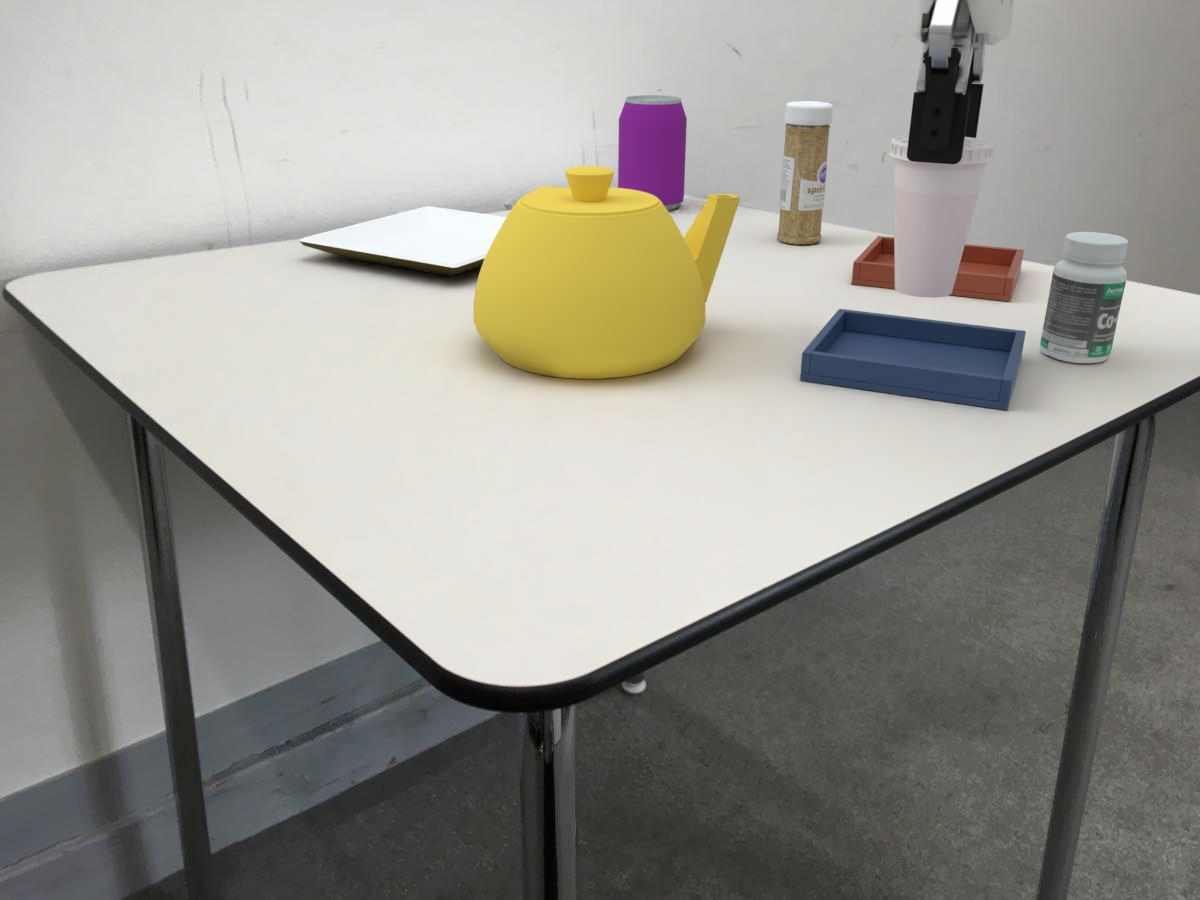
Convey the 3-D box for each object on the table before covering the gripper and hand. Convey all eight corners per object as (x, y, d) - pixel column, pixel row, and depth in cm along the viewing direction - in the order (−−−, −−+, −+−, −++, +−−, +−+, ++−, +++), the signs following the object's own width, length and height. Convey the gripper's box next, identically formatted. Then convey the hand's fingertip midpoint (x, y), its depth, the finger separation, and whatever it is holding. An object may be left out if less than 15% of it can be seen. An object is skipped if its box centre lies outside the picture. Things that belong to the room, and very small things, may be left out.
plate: (299, 260, 102) (296, 238, 101) (428, 224, 117) (427, 205, 116) (456, 289, 93) (454, 265, 92) (574, 246, 108) (574, 225, 107)
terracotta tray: (1020, 271, 100) (1024, 249, 99) (1009, 301, 91) (1013, 278, 90) (875, 256, 105) (877, 235, 104) (851, 284, 96) (853, 261, 95)
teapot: (525, 401, 69) (520, 198, 64) (435, 321, 85) (425, 153, 80) (789, 359, 77) (804, 175, 72) (662, 293, 93) (667, 138, 87)
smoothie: (927, 273, 77) (954, 63, 71) (994, 296, 72) (1029, 71, 66) (854, 283, 74) (876, 66, 69) (918, 308, 69) (948, 75, 63)
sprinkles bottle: (818, 247, 108) (830, 106, 103) (772, 243, 109) (782, 104, 104) (823, 237, 112) (836, 101, 107) (779, 234, 113) (789, 99, 108)
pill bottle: (1094, 369, 75) (1119, 248, 72) (1027, 354, 78) (1048, 237, 75) (1120, 354, 78) (1144, 237, 75) (1054, 339, 81) (1075, 227, 78)
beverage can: (688, 201, 129) (692, 95, 124) (677, 214, 122) (681, 102, 118) (625, 198, 131) (627, 93, 126) (611, 210, 124) (612, 100, 119)
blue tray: (1021, 357, 78) (1025, 330, 77) (1007, 410, 68) (1012, 380, 67) (836, 333, 82) (839, 308, 82) (799, 380, 73) (802, 352, 72)
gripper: (1044, -191, 54) (989, 180, 61) (1061, -156, 68) (1015, 140, 75) (889, -184, 56) (854, 170, 64) (937, -152, 71) (904, 133, 78)
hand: (942, 151), depth 69 cm, fingers closed on smoothie, 6 cm apart
